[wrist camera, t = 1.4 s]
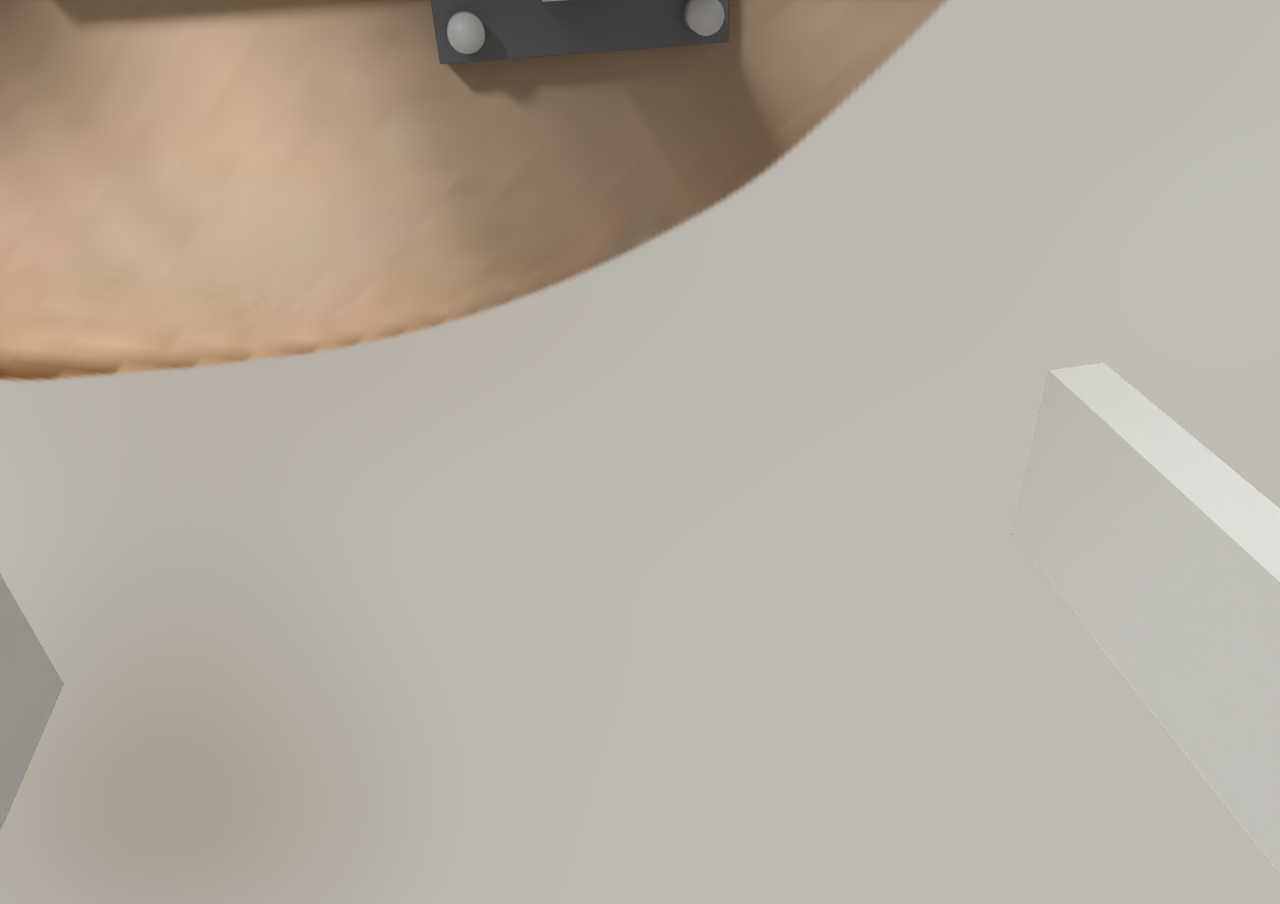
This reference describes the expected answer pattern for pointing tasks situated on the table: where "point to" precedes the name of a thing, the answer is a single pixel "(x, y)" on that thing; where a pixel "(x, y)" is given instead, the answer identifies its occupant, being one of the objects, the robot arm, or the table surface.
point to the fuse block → (571, 26)
